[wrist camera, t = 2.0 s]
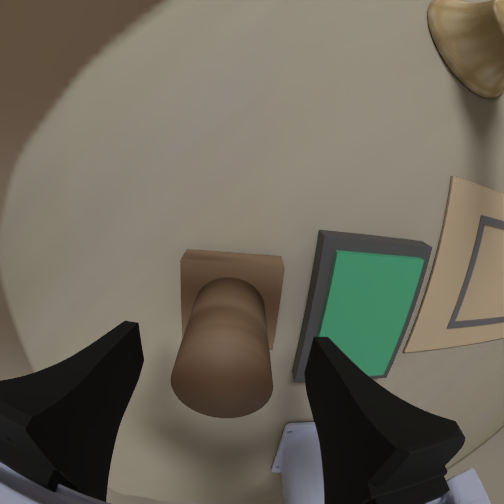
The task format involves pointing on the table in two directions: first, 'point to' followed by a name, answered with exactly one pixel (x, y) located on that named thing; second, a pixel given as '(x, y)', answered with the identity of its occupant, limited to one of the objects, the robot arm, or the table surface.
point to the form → (465, 273)
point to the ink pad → (362, 298)
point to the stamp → (227, 331)
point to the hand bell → (471, 42)
